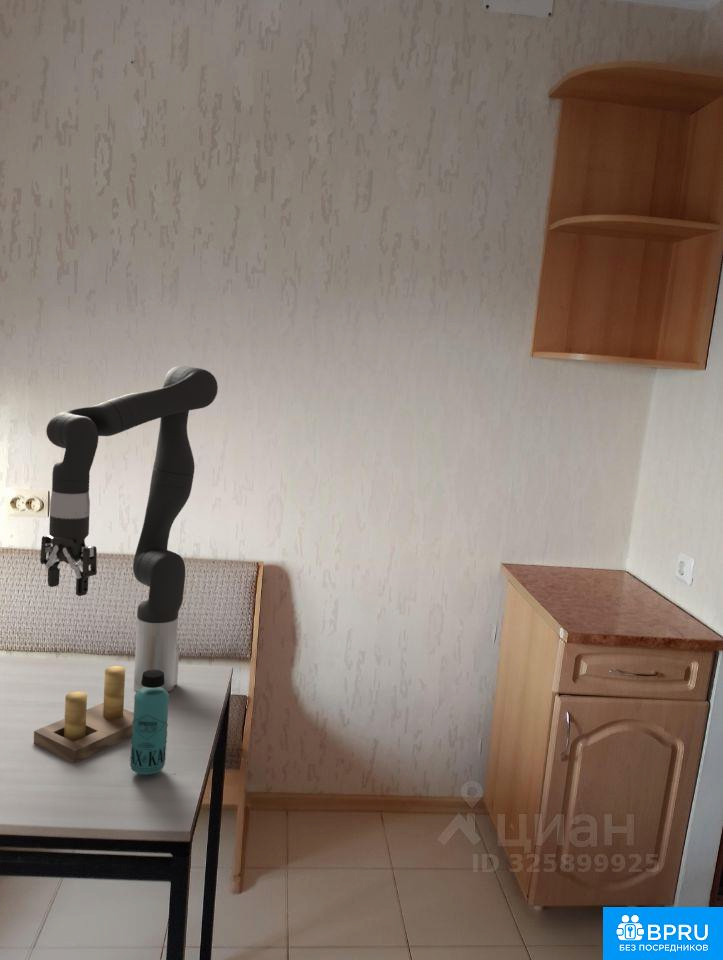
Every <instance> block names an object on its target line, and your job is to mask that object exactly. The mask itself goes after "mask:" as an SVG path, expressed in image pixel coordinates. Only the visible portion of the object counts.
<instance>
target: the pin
mask: <svg viewBox="0 0 723 960" xmlns="http://www.w3.org/2000/svg"><path fill="white" fill-rule="evenodd" d="M64 701H65V703H64V719H65V725H64V738H66V739H68V740H70V741H72V742H74V741H76V740H79V739H81V738H83V737H85V736H86V710H87V709H88V708H87V705H88V693H86V692H84V691H79V690H78V691H71V692H69V693H66V694H65V699H64Z"/></svg>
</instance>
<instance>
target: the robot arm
mask: <svg viewBox="0 0 723 960" xmlns="http://www.w3.org/2000/svg"><path fill="white" fill-rule="evenodd" d="M163 380H164V381H163V385H162V388H161V387H160V388H156V389H152V390H146V391H140V392H133V393H128V394H125V395H121V396H118V397H115V398H111V399H109V400H105V401H103V402H101V403H98V404H95V405H91V406H83V407H80V408H74V409H68V410H66V411H62V412H60V413H58V414H56V415H54V416H53V417H52V418H51V419H50V420H49V422H48V424H47V426H46V437H47V438H48V440H49V441H50V443H51V444H53V445H55V446H56V447H57V448H62V449H64V456H63V460H62V461H57V462H55V464H54V465H53V468H52V474H51V475H52V478H51V479H52V481H51V482H52V483H51V495H50V503H49V529H48V530H49V531H48V532H49V533H48V534H49V535H43V536H41V548H40V559H39V560H40V561H39V562H40V564H41V565H44V566H45V569H47V586H48V587H51V588H55V587H58V586H59V585H60V573H61V572H60V571H61V570H60V565H61V563H63V562H64V563H66V564H68V565H69V566H70V568H71V569H72V570H73V571H74V573H75V575H76V581H75V582H76V583H75V584H76V585H75V596H78V597H81V596H86V595H87V594H88V591H89V578H90V577H92V576H96V575H97V573H98V572H97V570H98V569H97V565H98V564H97V563H98V561H97V559H98V556H97V549H98V548H97V547H96V546H95V545H93V546H87V545H86V543H85V542H86V541H85V540H86V538H87V537H88V536H89V534H90V532H89V531H90V514H91V513H90V507H91V501H90V474H91V473H90V471H91V468H92V466H93V463H94V460H95V457H96V453H97V449H98V444H99V437H111V436H114V435H118V434H121V433H122V432H125V431H127V430H131V429H133V428H134V427H135V428H136V427H137V426H141V425H143V424H146V423H149V422H152V421H154V420H157V419H160V420H159V421H160V422H159V423H160V424H159V431H158V437H157V438H158V439H157V445H156V451H155V458H154V463H153V466H152V473H151V479H150V485H149V486H150V487H149V493H148V499H147V505H146V509H145V515H144V520H143V525H142V530H141V533H140V536H139V539H138V543H137V547H136V549H135V555H134V558H133V563H132V564H133V565H132V572H133V576H134V578H135V579H136V580H137V581H138V582H139V583H140V584H142V585H145V586H146V587H148V588H149V591H148V598H147V600H144V601H142V602H140V603H139V604H138V606H137V614H136V633H135V634H136V636H135V650H134V651H135V654H134V656H135V657H134V670H133V671H134V674H133V676H134V677H133V689H134V690H135V691H136V693H137V692H138V691H139V690H140V689H142V688H143V687H144V686H142V684H141V680H142V675H143V672H145V671H147V670H160V671H162V672H163V673H164V685H163V686H161V687H162V688H163V689H164V690H165V691H167V692H168V693H170V692H171V691H172V690H174V688H175V686H177V685H178V679H179V661H180V659H179V658H180V647H179V645H177V641H178V640H177V638H178V624H179V612H180V609H181V607H182V605H183V601H184V593H185V592H184V591H185V583H186V564H185V561H184V559H183V558H182V556H181V555H180V554H178V553H176V552H174V551H172V550H168V545H169V538H170V532H171V528H172V525H173V524H174V522H175V520H176V518H177V517H178V515H180V512H181V511H182V510H183V509H184V507H185V505H186V503H187V502H188V500H189V498H190V495H191V492H192V487H193V482H194V477H195V476H194V475H195V467H196V466H195V459H194V455H193V450H192V447H191V443H190V441H189V436H188V419H189V412H190V411H193V410H200V409H205V408H207V407H209V406H210V405H211V404H213V402H214V400H215V399H216V397H217V395H218V381H217V378H216V377H215V375H214V374H213V373H212V372H211V371H209V370H206V369H203V368H200V367H192V366H184V365H176V366H174V367H172V368H171V369H170V370H168V372H167V373H166V375H165V378H164V379H163ZM47 553H48V554H47ZM47 555H48V557H47Z"/></svg>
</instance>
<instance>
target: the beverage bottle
mask: <svg viewBox="0 0 723 960" xmlns="http://www.w3.org/2000/svg"><path fill="white" fill-rule="evenodd" d="M141 684H142V686H144V687H143V688H142V689H140V690H139V691H138V692H137V691H136V692H135V694H134V699H133V700H134V701H133V702H134V704H133V713H134V718H133V722H132V724H133V727H132V728H133V730H132V736H131V737H130V745H131V746H130V756H129V757H130V758H129V762H130V763H129V765H130V768H131V770H132V772H134V773H136V774H139V775H152V774H156V773H159V772H161V771H162V770H163V768H164V766H165V765H166V759H167V757H166V756H167V753H166V752H167V743H168V742H167V741H168V740H167V738H168V737H167V736H168V726H169V723H168V716H169V714H168V713H169V700H170V694H169V692H167V691H165V690H164V689H163V688H162V687H161V686H163V685H164V673H163V672H162V671H160V670H147V671H145V672H143V675H142V680H141Z"/></svg>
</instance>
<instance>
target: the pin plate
mask: <svg viewBox="0 0 723 960" xmlns="http://www.w3.org/2000/svg"><path fill="white" fill-rule="evenodd" d="M125 683H126V668H125V667H124V666H120V665H113V666H112V665H111V666H108V667H106V668H105V669H104V688H103V702H102V703H100V704H97V705H95V706H92V707H90V708H87V710H86V736H85V737H83V738H81V739H79V740H76V741H74V742H72V741H70V740H68V739H66V738H64V725H65V718H62V719H60V720H58V721H55V722H53V723H51V724H48V725H46V726H43V727H41V728H38V729H35V730H33V743H34V744H35V745H37V746H38V747H41V748H42V749H43V748H44V749H45V750H48V752H51V753H53V754H55V755H58V756H59V757H62V758H63V759H65V760H68V761H70V762H72V763H73V764H76V763H79V762H80V761H82V760H85V759H87V758H88V757H92V755H94V754H97V753H99V752H101V751H103V750H105V749H108V748H110V747H112V746H114V745H117V744H118V743H120V742H123V741H125V740H126V739H129V738H132V737H131V736H132V730H133V728H132V727H133V724H132V722H133V718H134V712H132V711H130V710H127V709H125V708H124V707H125V706H124V705H125V703H124V702H125Z"/></svg>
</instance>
